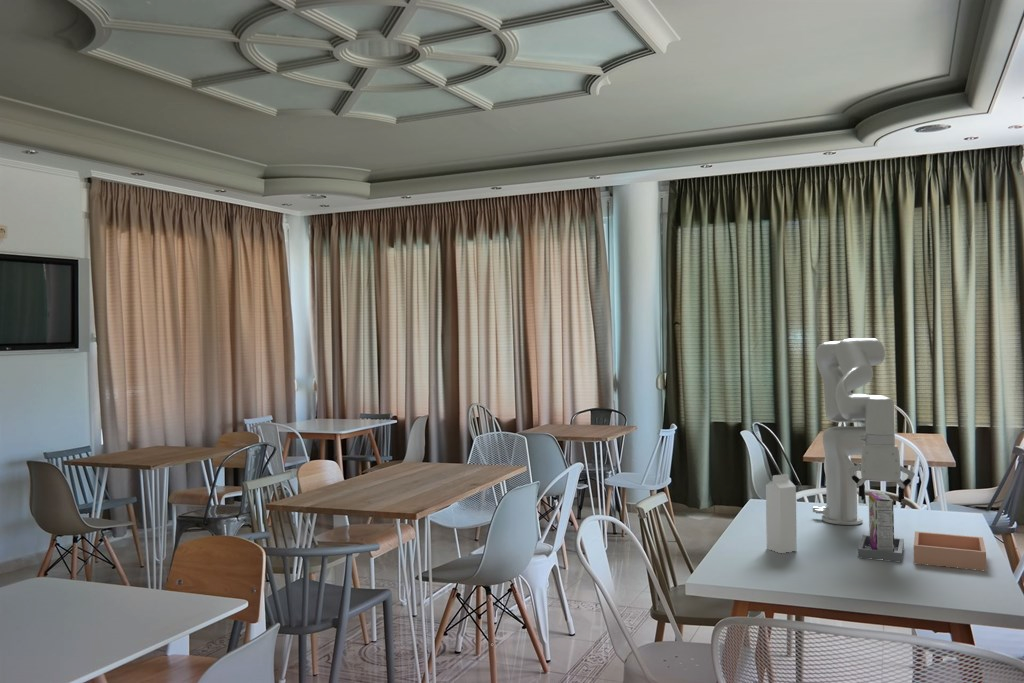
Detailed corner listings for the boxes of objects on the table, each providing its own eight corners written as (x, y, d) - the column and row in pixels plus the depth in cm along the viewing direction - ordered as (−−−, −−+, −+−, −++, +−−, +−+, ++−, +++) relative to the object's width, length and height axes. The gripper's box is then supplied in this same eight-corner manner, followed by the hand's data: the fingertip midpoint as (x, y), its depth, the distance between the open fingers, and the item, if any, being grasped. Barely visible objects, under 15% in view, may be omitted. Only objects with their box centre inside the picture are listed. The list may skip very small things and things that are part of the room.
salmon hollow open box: (913, 563, 219) (913, 545, 219) (915, 548, 234) (915, 531, 234) (986, 571, 211) (986, 552, 211) (982, 555, 226) (982, 537, 226)
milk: (796, 551, 233) (796, 475, 233) (780, 554, 231) (780, 477, 231) (782, 546, 239) (781, 472, 239) (765, 548, 236) (765, 473, 236)
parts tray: (858, 557, 226) (857, 548, 226) (862, 543, 241) (862, 535, 241) (901, 562, 221) (901, 553, 221) (903, 547, 236) (903, 538, 236)
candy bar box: (868, 547, 237) (867, 491, 237) (886, 547, 236) (886, 491, 235) (875, 557, 226) (875, 499, 226) (895, 558, 225) (894, 499, 225)
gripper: (846, 440, 231) (847, 500, 231) (913, 443, 223) (915, 505, 223) (848, 438, 238) (850, 496, 237) (914, 440, 230) (915, 500, 229)
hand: (881, 500), depth 230 cm, fingers open, 9 cm apart
